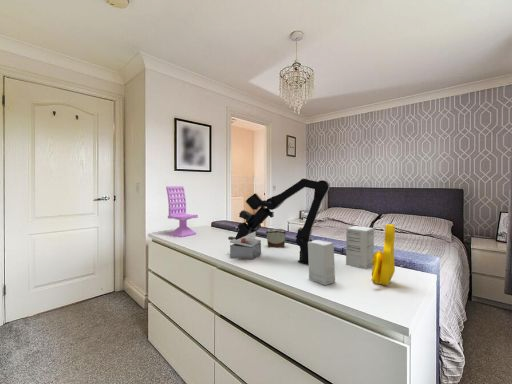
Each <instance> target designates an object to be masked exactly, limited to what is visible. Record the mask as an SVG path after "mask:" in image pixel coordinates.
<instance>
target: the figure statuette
mask: <svg viewBox="0 0 512 384" xmlns="http://www.w3.org/2000/svg"><path fill="white" fill-rule="evenodd" d="M384 231H385V232H384V242H383V250H380V249H379V250H377V251H376V252H374V255H373V256H374V258H372V263H373V265H372V271H371V281H372V282H373V283H374V284H380V285H382V286H386V287H388V286H389V284H390V282H391V280H392V278H393V276H394V273H395V271H396V270H395V269H396V268H395V267H396V266H395V234H396V227H395V224H390V223H386V224H385V230H384Z"/></svg>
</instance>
